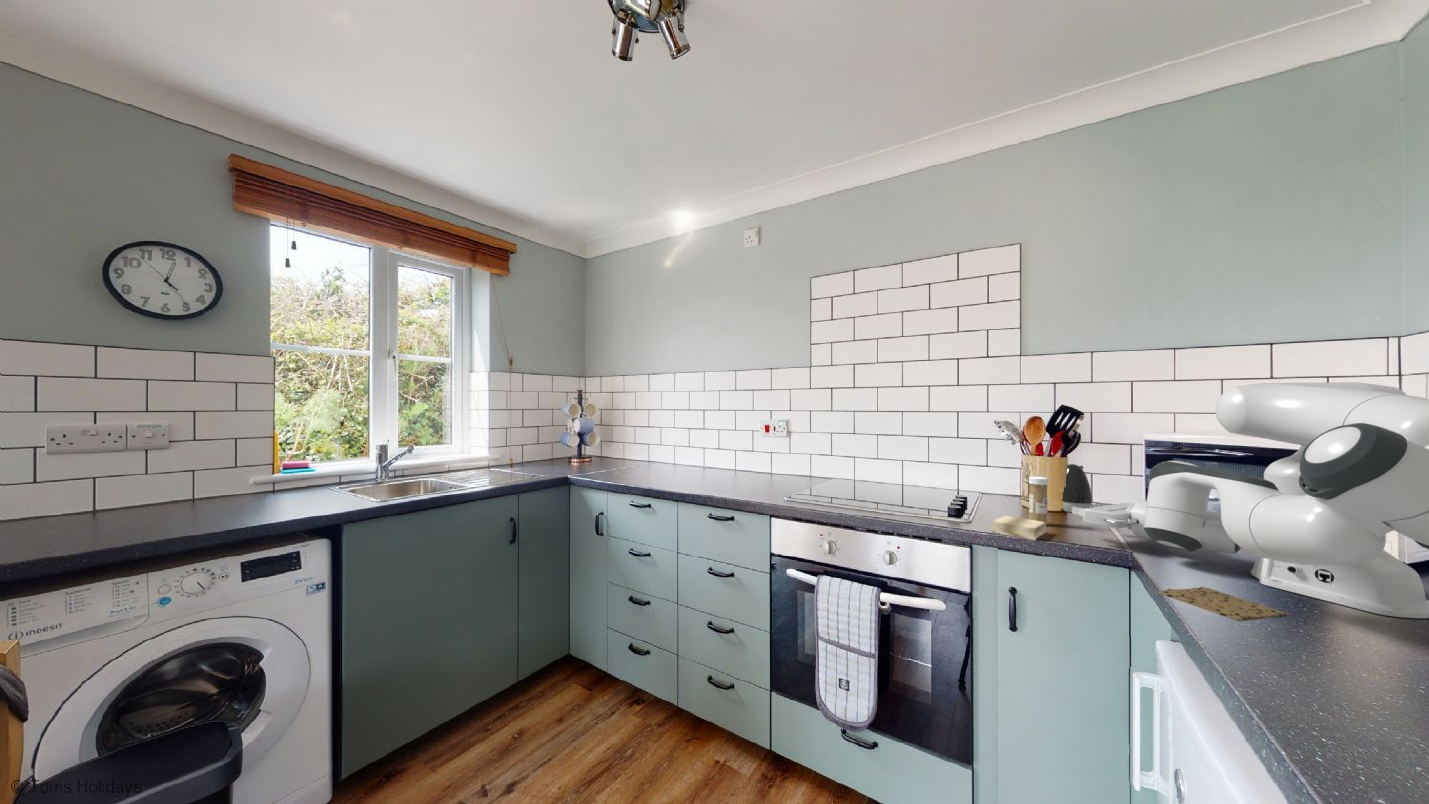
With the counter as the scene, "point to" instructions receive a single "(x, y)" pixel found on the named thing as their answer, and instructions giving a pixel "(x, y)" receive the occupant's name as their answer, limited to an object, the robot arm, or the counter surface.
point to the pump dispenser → (1076, 489)
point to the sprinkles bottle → (1038, 499)
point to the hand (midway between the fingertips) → (1083, 508)
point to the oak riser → (1019, 527)
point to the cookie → (1222, 603)
